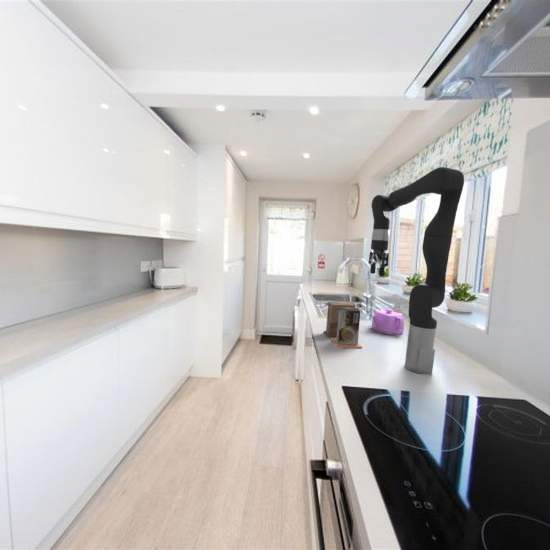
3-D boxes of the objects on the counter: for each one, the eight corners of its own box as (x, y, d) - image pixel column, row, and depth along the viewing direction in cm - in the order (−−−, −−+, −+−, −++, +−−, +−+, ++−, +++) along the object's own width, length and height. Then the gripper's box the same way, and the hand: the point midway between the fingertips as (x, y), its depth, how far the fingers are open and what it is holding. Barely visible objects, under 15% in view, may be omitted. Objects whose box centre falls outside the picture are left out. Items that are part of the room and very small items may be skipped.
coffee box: (355, 341, 144) (358, 307, 142) (357, 345, 137) (361, 311, 136) (335, 339, 144) (338, 306, 143) (337, 343, 138) (340, 309, 136)
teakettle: (403, 337, 158) (406, 314, 156) (369, 332, 164) (371, 310, 163) (403, 330, 173) (405, 308, 172) (372, 325, 180) (374, 304, 178)
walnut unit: (354, 338, 151) (358, 305, 149) (327, 337, 149) (330, 304, 147) (349, 333, 159) (352, 302, 157) (323, 332, 157) (326, 301, 155)
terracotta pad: (361, 348, 136) (362, 346, 136) (338, 347, 135) (338, 346, 135) (352, 340, 147) (352, 338, 147) (331, 339, 146) (331, 338, 146)
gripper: (365, 239, 146) (362, 272, 147) (380, 239, 132) (376, 275, 133) (380, 240, 147) (377, 273, 148) (396, 240, 133) (392, 276, 134)
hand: (376, 274), depth 141 cm, fingers open, 8 cm apart
